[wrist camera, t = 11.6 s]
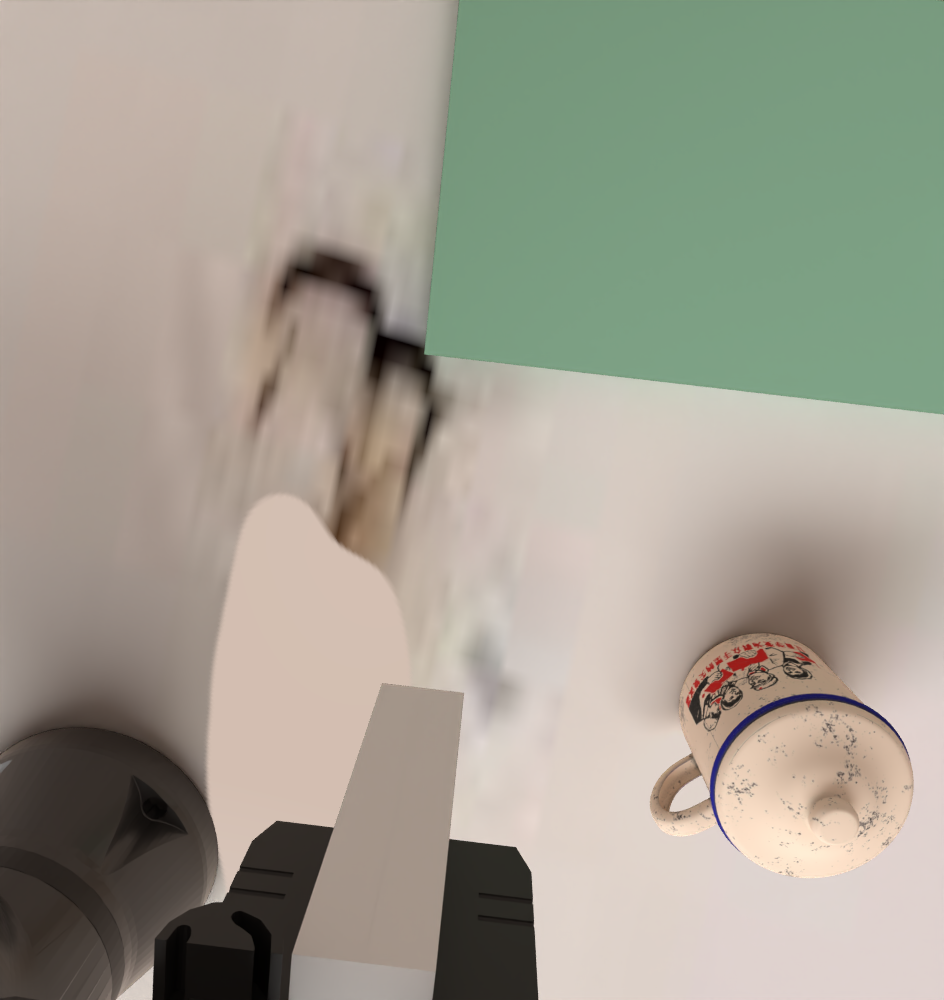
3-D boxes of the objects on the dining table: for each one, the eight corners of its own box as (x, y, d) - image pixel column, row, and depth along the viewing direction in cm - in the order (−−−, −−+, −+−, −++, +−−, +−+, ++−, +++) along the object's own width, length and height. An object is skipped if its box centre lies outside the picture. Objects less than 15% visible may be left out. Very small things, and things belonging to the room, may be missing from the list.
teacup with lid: (791, 597, 45) (891, 690, 33) (865, 730, 46) (985, 864, 35) (598, 700, 46) (629, 822, 35) (675, 825, 48) (729, 982, 36)
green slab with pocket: (427, 352, 42) (419, 355, 38) (466, -34, 39) (462, -76, 35) (1086, 429, 42) (1149, 440, 38) (1190, 46, 38) (1273, 13, 34)
